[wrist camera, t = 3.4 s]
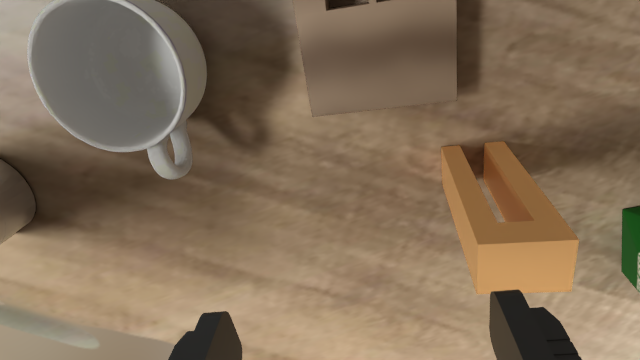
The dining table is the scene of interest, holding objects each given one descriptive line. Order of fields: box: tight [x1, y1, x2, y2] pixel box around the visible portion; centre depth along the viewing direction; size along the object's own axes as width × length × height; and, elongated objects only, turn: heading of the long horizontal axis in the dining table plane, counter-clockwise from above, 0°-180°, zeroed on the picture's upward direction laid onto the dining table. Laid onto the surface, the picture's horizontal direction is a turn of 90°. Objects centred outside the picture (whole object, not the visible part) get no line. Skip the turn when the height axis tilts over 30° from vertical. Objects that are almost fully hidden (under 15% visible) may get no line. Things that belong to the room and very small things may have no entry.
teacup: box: [27, 0, 207, 179], centre depth 31 cm, size 14×11×8 cm
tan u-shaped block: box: [441, 141, 579, 294], centre depth 28 cm, size 4×5×14 cm
